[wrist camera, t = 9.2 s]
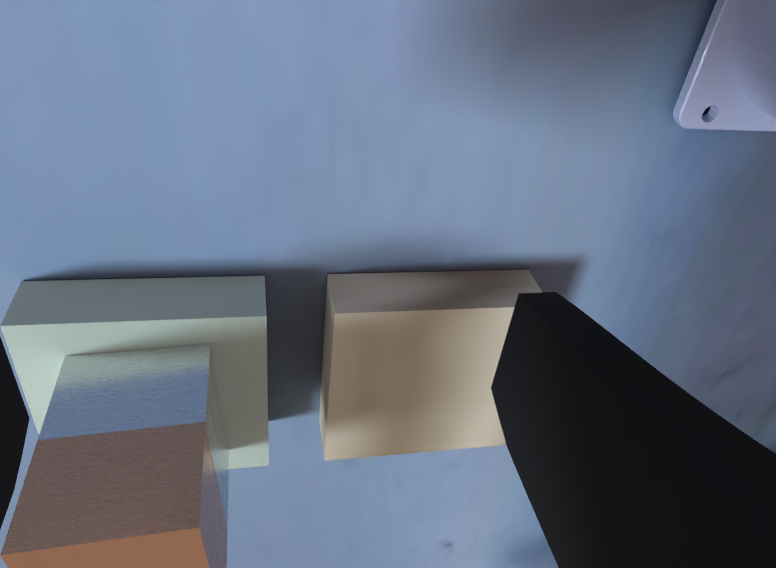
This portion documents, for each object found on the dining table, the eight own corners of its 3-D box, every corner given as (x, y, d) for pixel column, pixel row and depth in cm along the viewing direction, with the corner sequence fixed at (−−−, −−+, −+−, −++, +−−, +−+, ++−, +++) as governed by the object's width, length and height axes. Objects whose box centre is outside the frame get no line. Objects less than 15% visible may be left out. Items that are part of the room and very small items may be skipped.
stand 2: (528, 269, 21) (551, 306, 20) (487, 406, 26) (503, 445, 24) (327, 274, 20) (334, 313, 18) (319, 418, 24) (324, 460, 23)
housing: (228, 449, 21) (225, 631, 17) (105, 464, 21) (65, 657, 16) (210, 342, 18) (198, 527, 14) (64, 355, 17) (0, 555, 13)
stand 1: (264, 275, 20) (266, 316, 18) (267, 422, 24) (268, 465, 22) (21, 281, 18) (0, 326, 16) (69, 436, 22) (56, 483, 21)
